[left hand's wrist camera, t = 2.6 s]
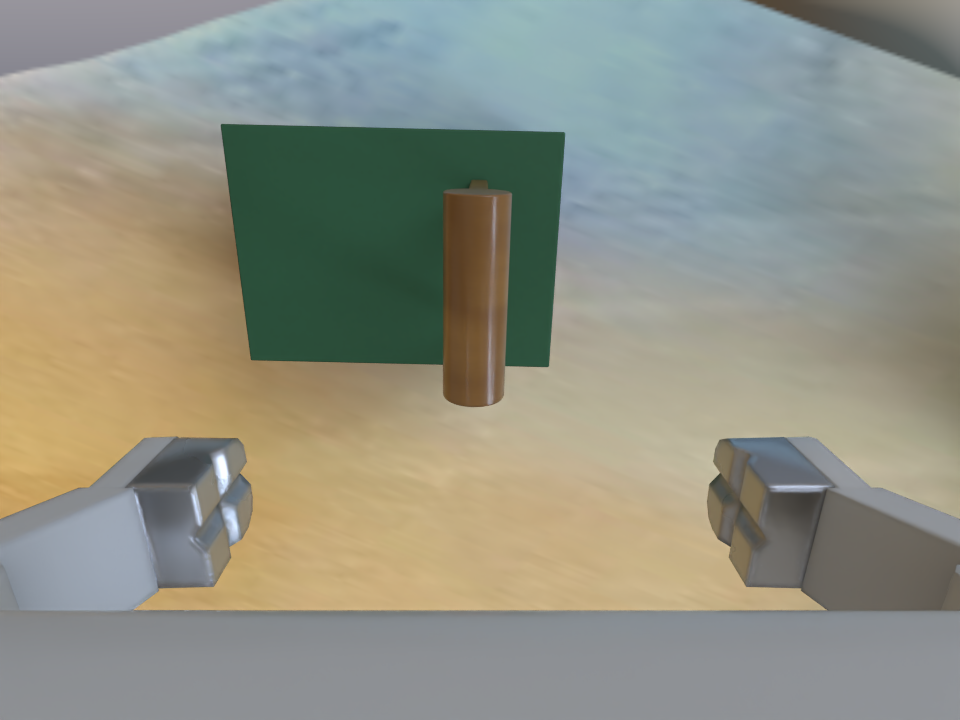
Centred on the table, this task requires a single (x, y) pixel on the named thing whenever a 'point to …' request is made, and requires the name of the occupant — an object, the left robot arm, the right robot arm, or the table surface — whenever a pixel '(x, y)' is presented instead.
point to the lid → (398, 247)
